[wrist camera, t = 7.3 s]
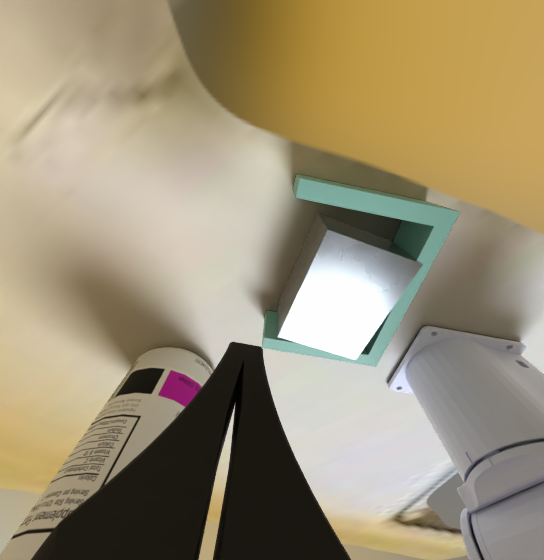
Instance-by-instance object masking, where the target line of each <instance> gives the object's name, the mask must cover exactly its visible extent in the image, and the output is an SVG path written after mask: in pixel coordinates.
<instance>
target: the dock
mask: <svg viewBox="0 0 544 560" xmlns="http://www.w3.org/2000/svg"><path fill="white" fill-rule="evenodd" d="M293 192H294V194H295V197H296V198H299V199H304V200H309V201H314V202H318V203H323V204H328V205H333V206H338V207H343V208H348V209H352V210H357V211H362V212H367V213H372V214H377V215H382V216H386V217H391V218H396V219H401V220H402V222H401V225H400V227H399V229H398V231H397V234H396V236H395V238H394V240H393V242H394V243H395V244H397V245H398V246H399V247H401V248H402V249H403V250H405V251H406V252H407V253H409V254H410V255H411V256H413V257H414V258H415V259H417V260H418V261H419V262H421V263H422V264H423V265H422V267H421V268H420V270H419V271H418V272H417V274H416V275H415V277H414V278H413V280H412V281H411V282H410V284H409V285H408V287H407V288H406V289H405V291H404V292H403V294H402V295H401V297H400V298H399V299H398V301H397V302H396V304H395V305H394V307H393V308H392V309H391V311H390V312H389V314H388V315H387V316H386V318H385V319H384V321H383V322H382V324H381V325H380V326H379V328H378V329H377V331H376V332H375V333H374V335H373V336H372V338H371V339H370V341H369V342H368V343H367V345H366V346H365V348H364V349H363V351H362V352H361V353H360V355H359V356H358V358H357V359H356V360H354V359H350V358H347V357H344V356H340V355H337V354H334V353H330V352H327V351H323V350H320V349H317V348H313V347H310V346H307V345H303V344H300V343H297V342H293V341H290V340H286V339H283V338H280V337H278V312H273V311H267V310H266V315H265V319H264V330H263V340H262V348H266V349H272V350H278V351H284V352H290V353H296V354H302V355H309V356H315V357H321V358H327V359H333V360H339V361H345V362H351V363H357V364H363V365H369V366H375V367H376V366H377V364H378V362H379V360H380V359H381V357H382V355H383V353H384V351H385V349H386V348H387V346H388V344H389V342H390V340H391V338H392V337H393V335H394V333H395V331H396V329H397V327H398V326H399V324H400V322H401V320H402V318H403V316H404V315H405V313H406V311H407V309H408V307H409V306H410V304H411V302H412V300H413V298H414V296H415V295H416V293H417V291H418V289H419V287H420V285H421V284H422V282H423V280H424V278H425V276H426V274H427V273H428V271H429V269H430V267H431V265H432V263H433V262H434V260H435V258H436V256H437V254H438V253H439V251H440V249H441V247H442V245H443V243H444V242H445V240H446V238H447V236H448V234H449V232H450V231H451V229H452V227H453V225H454V223H455V221H456V220H457V218H458V216H459V214H460V212H459V211H455V210H452V209H449V208H446V207H443V206H439V205H436V204H433V203H430V202H427V201H422V200H417V199H413V198H408V197H403V196H399V195H394V194H389V193H384V192H380V191H375V190H370V189H366V188H361V187H356V186H351V185H347V184H342V183H337V182H333V181H328V180H323V179H318V178H314V177H309V176H304V175H300V174H296V177H295V182H294V187H293Z"/></svg>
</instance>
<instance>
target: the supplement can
mask: <svg viewBox="0 0 544 560" xmlns="http://www.w3.org/2000/svg"><path fill="white" fill-rule="evenodd" d="M212 373H213V370H212V369H211V368H210V367H209V365H208V364H207V363H206V362H205V360H204V359H202V358H201V357H200V356H198V355H197V354H195V353H194V352H191V351H188V350H185V349H182V348H175V347H163V348H158V349H152V350H149V351H147V352H146V353H144V354H142V355H141V356H139V357H138V359H137V360H136V362H135V363H134V365H133V366H132V367H131V369H130V370H129V372H128V373H127V375H126V376H125V377H124V379H123V380H122V382H121V383H120V385H119V386H118V387H117V389H116V390H115V392H114V393H113V394H112V396H111V397H110V399H109V400H108V402H107V403H106V404H105V406H104V407H103V409H102V410H101V412H100V413H99V414H98V416H97V417H96V419H95V420H94V422H93V423H92V424H91V426H90V427H89V429H88V430H87V432H86V433H85V434H84V436H83V437H82V439H81V440H80V441H79V443H78V444H77V446H76V447H75V449H74V450H73V451H72V453H71V454H70V456H69V457H68V459H67V460H66V461H65V463H64V464H63V466H62V467H61V469H60V470H59V471H58V473H57V474H56V476H55V477H54V478H53V480H52V481H51V483H50V484H49V486H48V487H47V488H46V490H45V491H44V493H43V494H42V496H41V497H40V498H39V500H38V501H37V503H36V504H35V506H34V507H33V508H32V510H31V511H30V513H29V514H28V516H27V517H26V518H25V520H24V521H23V523H22V524H21V526H20V527H19V528H18V530H17V531H16V533H15V534H14V535H13V537H12V538H11V540H10V541H9V543H8V544H7V545H6V547H5V548H4V550H3V551H2V553H1V554H0V560H31V559H32V557H33V556H34V555H35V553H36V552H37V550H38V549H39V548H40V546H41V545H42V544H43V542H44V541H45V540H46V538H47V537H48V536H49V535H50V533H51V532H52V531H53V530H54V528H55V527H56V526H57V525H58V524H59V522H60V521H61V520H62V519H64V518H65V517H66V516H67V515H68V514H70V513H71V512H72V511H73V510H75V509H76V508H77V507H78V506H79V505H81V504H82V503H83V502H84V501H86V500H87V499H88V498H89V497H90V496H92V495H93V494H94V493H95V492H97V491H98V490H99V489H100V488H101V487H103V486H104V485H105V484H106V483H107V482H109V481H110V480H111V479H112V478H113V477H114V476H116V475H117V474H118V473H119V472H120V471H121V470H122V469H123V468H124V467H126V466H127V465H128V464H129V463H130V462H131V461H132V460H133V459H134V458H136V457H137V456H138V455H139V454H140V453H141V452H142V451H143V450H144V449H145V448H146V447H147V446H149V445H150V444H151V443H152V442H153V441H154V440H155V439H156V438H157V437H158V436H159V435H160V434H161V433H162V432H163V431H164V430H165V429H166V428H167V427H168V426H169V425H170V424H171V422H172V421H173V420H174V419H175V418H176V417H177V416H178V415H179V414H180V413H181V412H182V410H183V409H184V408H185V407H186V406H187V405H188V404H189V402H190V401H191V400H192V399H193V398H194V396H195V395H196V394H197V393H198V391H199V390H200V389H201V388H202V386H203V385H204V384H205V383H206V381H207V380H208V379H209V377H210V376H211V374H212Z"/></svg>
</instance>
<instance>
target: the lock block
mask: <svg viewBox="0 0 544 560" xmlns="http://www.w3.org/2000/svg"><path fill="white" fill-rule="evenodd" d="M422 265H423V264H422V263H421V262H419V261H418V260H417V259H415V258H414V257H413V256H411V255H410V254H409V253H407V252H406V251H405V250H403V249H402V248H401V247H399V246H398V245H397V244H395V243H394V242H393V241H391V240H388V239H385V238H383V237H380V236H377V235H375V234H372V233H369V232H367V231H364V230H361V229H358V228H356V227H353V226H350V225H348V224H345V223H342V222H340V221H337V220H334V219H332V218H329V217H326V216H324V215H321V214H318V213H317V215H316V217H315V219H314V222H313V224H312V226H311V229H310V231H309V233H308V235H307V238H306V240H305V242H304V245H303V247H302V249H301V252H300V254H299V256H298V259H297V261H296V263H295V265H294V268H293V270H292V272H291V275H290V277H289V279H288V282H287V284H286V286H285V289H284V291H283V293H282V296H281V298H280V300H279V302H278V337H280V338H283V339H286V340H290V341H293V342H297V343H300V344H303V345H307V346H310V347H313V348H317V349H320V350H323V351H327V352H330V353H334V354H337V355H340V356H344V357H347V358H350V359H354V360H356V359H357V358H358V356H359V355H360V353H361V352H362V351H363V349H364V348H365V346H366V345H367V343H368V342H369V341H370V339H371V338H372V336H373V335H374V333H375V332H376V331H377V329H378V328H379V326H380V325H381V324H382V322H383V321H384V319H385V318H386V316H387V315H388V314H389V312H390V311H391V309H392V308H393V307H394V305H395V304H396V302H397V301H398V299H399V298H400V297H401V295H402V294H403V292H404V291H405V289H406V288H407V287H408V285H409V284H410V282H411V281H412V280H413V278H414V277H415V275H416V274H417V272H418V271H419V270H420V268H421V267H422Z"/></svg>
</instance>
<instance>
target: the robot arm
mask: <svg viewBox="0 0 544 560" xmlns="http://www.w3.org/2000/svg"><path fill="white" fill-rule="evenodd" d="M432 332H434V333H432ZM525 349H526V346H525V345H524V344H523V343H521V342H516V341H510V340H505V339H499V338H494V337H488V336H483V335H477V334H471V333H466V332H460V331H455V330H449V329H443V328H438V327H432V326H425V327H423V328H422V329H421V331H420V332H419V334H418V336H417V337H416V339H415V340H414V342H413V344H412V345H411V347H410V349H409V350H408V352H407V354H406V355H405V357H404V359H403V360H402V362H401V363H400V365H399V367H398V368H397V370H396V372H395V373H394V375H393V377H392V378H391V380H390V382H389V383H388V387H389V389H390V390H393V391H399V392H405V393H412V394H415V396H416V398H417V400H418V401H419V403H420V405H421V407H422V408H423V410H424V412H425V414H426V416H427V417H428V419H429V421H430V423H431V424H432V426H433V428H434V430H435V431H436V433H437V435H438V437H439V439H440V440H441V442H442V444H443V446H444V447H445V449H446V451H447V453H448V455H449V456H450V458H451V460H452V462H453V463H454V465H455V467H456V469H457V471H458V472H459V474H460V476H461V478H462V479H463V481H464V484H463V485H462V486H461V487H459V488H457V491H458V493H459V495H460V496H461V498H462V500H463V502H464V504H465V506H466V508H464V509H463V511H462V513H461V517H460V523H461V531H462V536H463V540H464V545H465V549H466V552H467V555H468V558H469V560H544V374H543V373H542V372H540V371H539V370H538V369H537V368H536V367H534V366H533V365H532V364H531V363H529V362H528V361H527V360H526V359H525V358H523V357H522V356H521V354H522V353H523V351H524V350H525ZM235 402H236V404H235ZM234 405H235V413H234V423H233V433H232V443H231V453H230V462H229V470H228V476H227V482H226V488H225V493H224V499H223V505H222V511H221V516H220V522H219V528H218V534H217V540H216V545H215V550H214V556H213V560H351V559H350V557H349V555H348V554H347V552H346V550H345V549H344V547H343V545H342V544H341V542H340V540H339V539H338V537H337V535H336V534H335V532H334V530H333V528H332V527H331V525H330V523H329V522H328V520H327V518H326V516H325V515H324V513H323V511H322V509H321V507H320V505H319V504H318V502H317V500H316V498H315V496H314V494H313V493H312V491H311V489H310V487H309V485H308V483H307V481H306V479H305V477H304V475H303V472H302V470H301V468H300V466H299V464H298V462H297V460H296V458H295V456H294V454H293V451H292V449H291V447H290V445H289V442H288V440H287V437H286V435H285V432H284V430H283V427H282V425H281V422H280V419H279V417H278V414H277V411H276V408H275V405H274V402H273V398H272V395H271V391H270V388H269V384H268V380H267V376H266V371H265V366H264V360H263V349H262V348H261V347H259V346H254V345H248V344H242V343H237V342H232V343H230V344H229V347H228V349H227V351H226V353H225V354H224V356H223V358H222V359H221V361H220V363H219V364H218V366H217V367H216V369H215V370H214V371H213V373H212V374H211V376H210V377H209V379H208V380H207V381H206V383H205V384H204V385H203V386H202V388H201V389H200V390H199V391H198V393H197V394H196V395H195V396H194V398H193V399H192V400H191V401H190V402H189V404H188V405H187V406H186V407H185V408H184V409H183V410H182V412H181V413H180V414H179V415H178V416H177V417H176V418H175V419H174V420H173V421H172V422H171V424H170V425H169V426H168V427H167V428H166V429H165V430H164V431H163V432H162V433H161V434H160V435H159V436H158V437H157V438H156V439H155V440H154V441H153V442H152V443H151V444H150V445H149V446H147V447H146V448H145V449H144V450H143V451H142V452H141V453H140V454H139V455H138V456H137V457H136V458H134V459H133V460H132V461H131V462H130V463H129V464H128V465H127V466H126V467H124V468H123V469H122V470H121V471H120V472H119V473H118V474H117V475H116V476H114V477H113V478H112V479H111V480H110V481H109V482H107V483H106V484H105V485H104V486H103V487H101V488H100V489H99V490H98V491H97V492H95V493H94V494H93V495H92V496H90V497H89V498H88V499H87V500H86V501H84V502H83V503H82V504H81V505H79V506H78V507H77V508H76V509H75V510H73V511H72V512H71V513H70V514H68V515H67V516H66V517H65V518H64V519H62V520H61V521H60V522H59V524H58V525H57V526H56V527H55V528H54V530H53V531H52V532H51V533H50V535H49V536H48V537H47V538H46V540H45V541H44V542H43V544H42V545H41V546H40V548H39V549H38V550H37V552H36V553H35V555H34V556H33V557H32V559H31V560H198V559H199V554H200V549H201V544H202V539H203V535H204V529H205V525H206V520H207V515H208V510H209V505H210V500H211V495H212V491H213V486H214V481H215V476H216V471H217V467H218V463H219V459H220V455H221V452H222V448H223V445H224V441H225V437H226V434H227V430H228V427H229V423H230V420H231V416H232V413H233V409H234Z"/></svg>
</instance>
